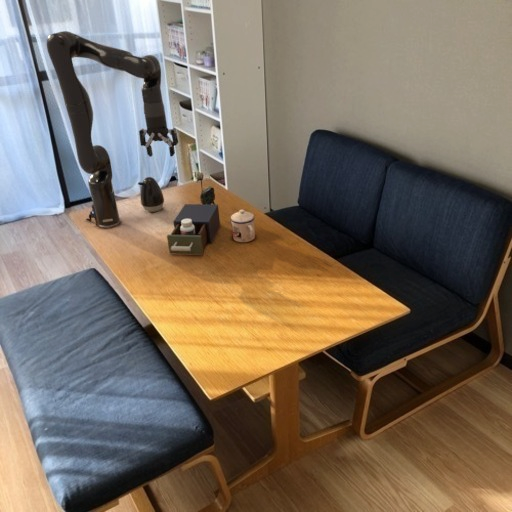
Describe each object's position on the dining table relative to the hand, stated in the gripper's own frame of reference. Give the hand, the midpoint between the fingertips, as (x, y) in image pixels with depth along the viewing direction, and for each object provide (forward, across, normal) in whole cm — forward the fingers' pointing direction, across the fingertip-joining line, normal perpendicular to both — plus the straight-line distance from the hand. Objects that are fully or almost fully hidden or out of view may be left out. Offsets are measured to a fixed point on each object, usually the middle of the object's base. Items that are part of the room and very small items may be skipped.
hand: (161, 155), depth 197 cm
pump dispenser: (+30, +14, -16) cm, 37 cm away
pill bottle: (+28, -13, +19) cm, 36 cm away
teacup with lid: (+30, -33, +10) cm, 46 cm away
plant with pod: (+30, -11, -12) cm, 35 cm away
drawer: (+29, -13, +20) cm, 38 cm away
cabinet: (+30, -13, +6) cm, 33 cm away
